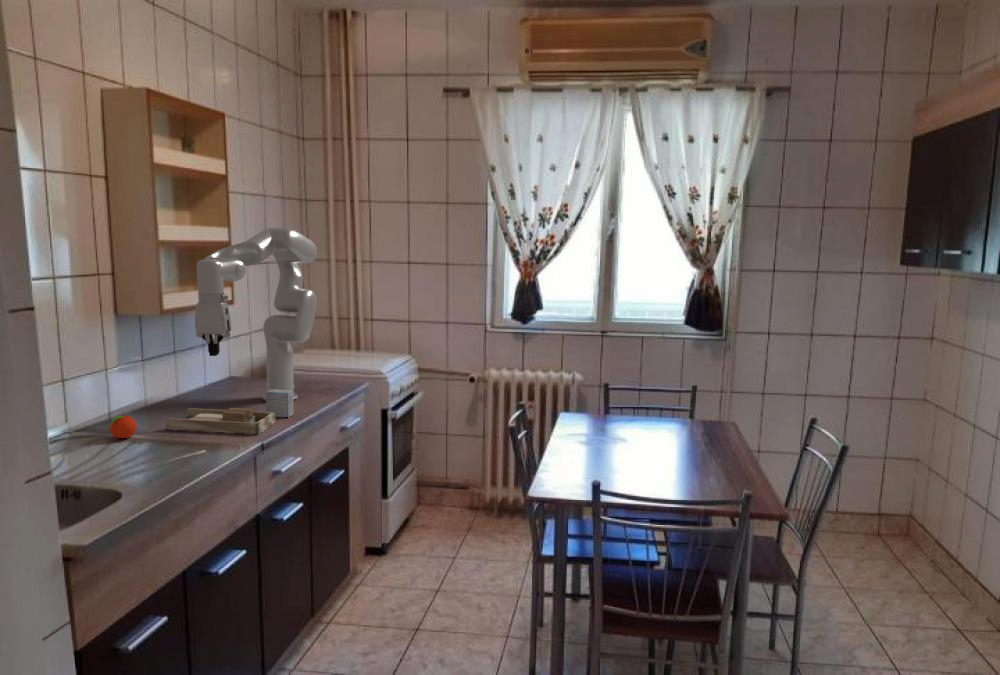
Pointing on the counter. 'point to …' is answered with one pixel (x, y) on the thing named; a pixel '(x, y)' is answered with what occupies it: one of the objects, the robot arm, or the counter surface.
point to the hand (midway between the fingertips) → (214, 355)
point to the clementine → (123, 426)
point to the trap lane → (221, 422)
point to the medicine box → (280, 402)
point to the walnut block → (237, 414)
